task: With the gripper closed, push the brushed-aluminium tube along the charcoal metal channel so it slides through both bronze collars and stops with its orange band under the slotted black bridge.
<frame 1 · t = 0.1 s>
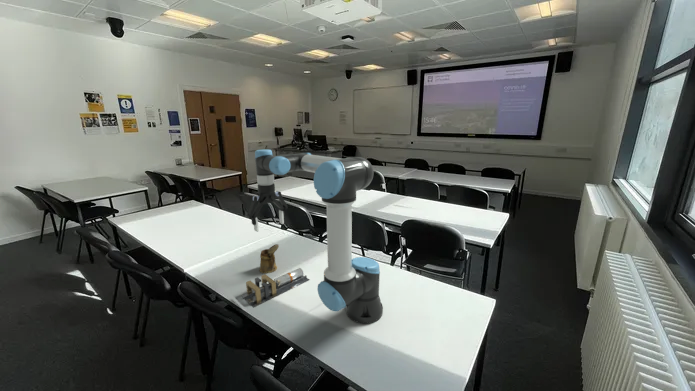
hand: (269, 227, 135), 28 cm above the table, fingers open, 13 cm apart
tube: (289, 281, 137), point 1 cm above the table, touching dark grey base rail
aperture bridge: (262, 296, 128), resting on dark grey base rail
dark grey base rail: (277, 289, 133), on the table
collar 2: (269, 292, 130), resting on dark grey base rail
collar 1: (254, 300, 125), resting on dark grey base rail
wooden mug: (270, 272, 148), on the table
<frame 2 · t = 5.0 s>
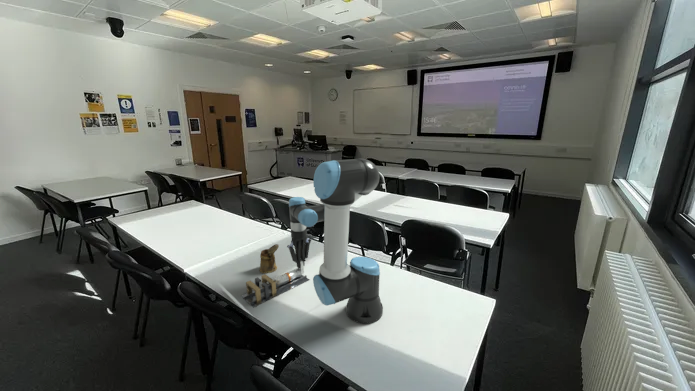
hand: (301, 272, 142), 3 cm above the table, fingers closed
tube: (288, 281, 137), point 1 cm above the table, tilted 16°, touching gripper
everything else where it was.
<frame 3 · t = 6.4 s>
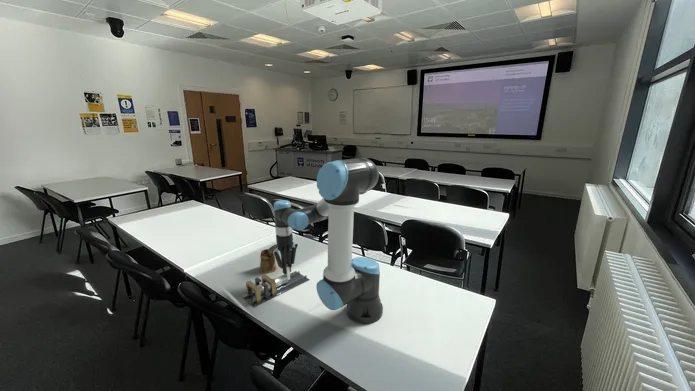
hand: (287, 278, 136), 3 cm above the table, fingers closed
tube: (273, 288, 132), point 1 cm above the table, tilted 17°, touching dark grey base rail, gripper
everything else where it was.
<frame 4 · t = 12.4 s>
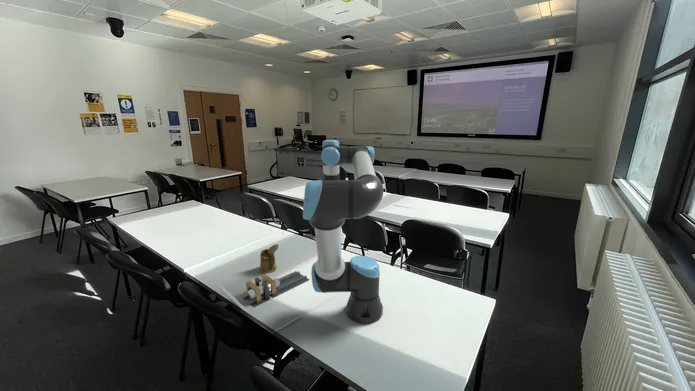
hand: (332, 221, 137), 29 cm above the table, fingers closed
tube: (264, 293, 128), point 1 cm above the table, touching dark grey base rail
everything else where it was.
at the end: tube 1.1 cm from the target spot, point 1.0 cm above the table; tube moved 13.4 cm from its start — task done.
